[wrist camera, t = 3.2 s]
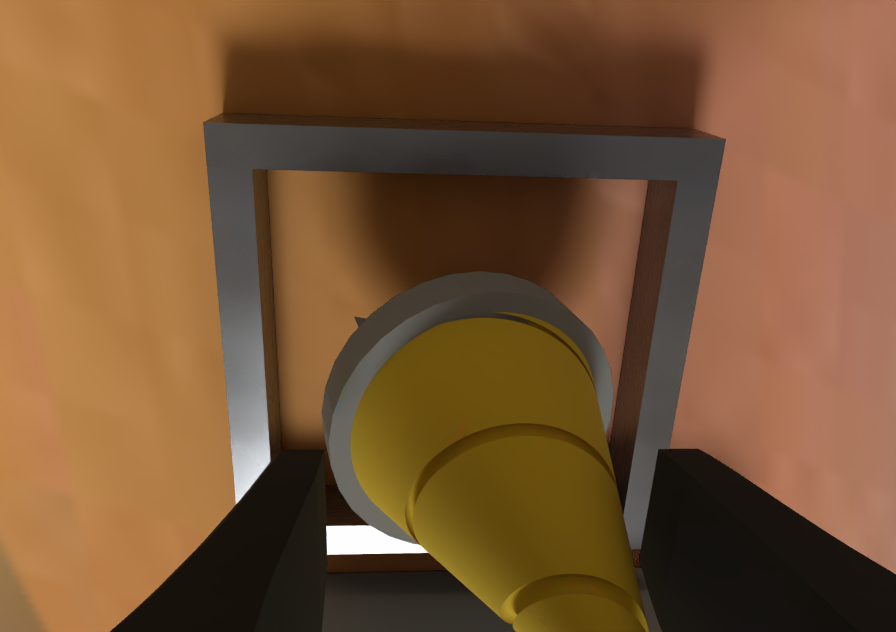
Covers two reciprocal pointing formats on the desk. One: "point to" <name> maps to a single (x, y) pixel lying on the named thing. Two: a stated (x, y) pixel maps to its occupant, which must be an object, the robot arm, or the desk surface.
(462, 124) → the grey square frame
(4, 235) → the desk surface
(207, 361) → the desk surface
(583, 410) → the drill bit
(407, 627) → the bin
